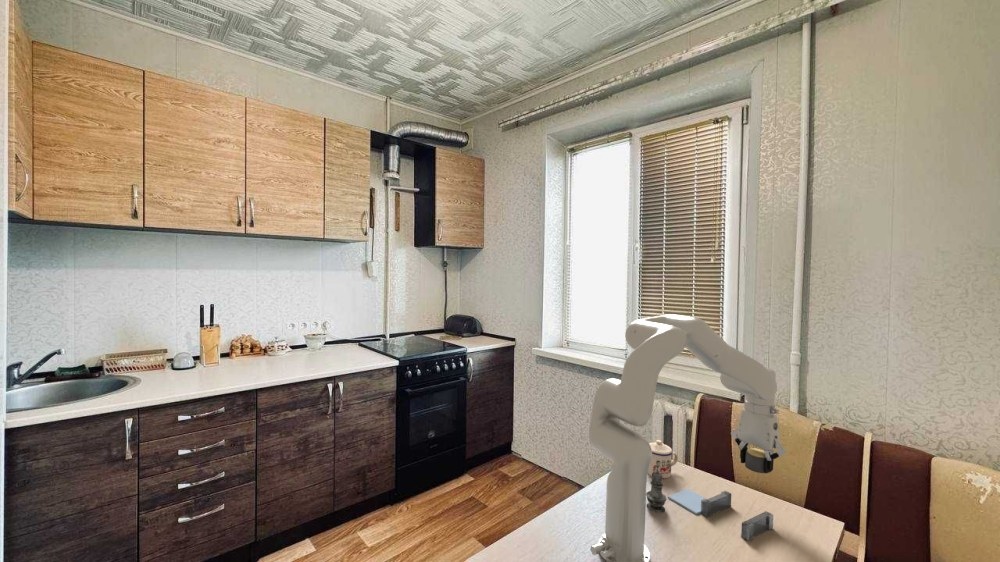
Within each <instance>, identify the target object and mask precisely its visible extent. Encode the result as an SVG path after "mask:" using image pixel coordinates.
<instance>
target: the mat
mask: <svg viewBox="0 0 1000 562" xmlns="http://www.w3.org/2000/svg"><path fill="white" fill-rule="evenodd" d="M667 499H669V500H671V501H673V502H674V503H676V504H677V505H679V506H681V507H682V508H684V509H686V510H687V511H689V512H690V513H692V514H694V515H695V516H698V515H700V514H701V500H703V499H707V498H706V497H705V496H704V495H701V494H699V493H697V492H695V491H694V490H691V489H690V488H686V489H683V490H681V491H677V492H674V493H673V494H670V495H667Z"/></svg>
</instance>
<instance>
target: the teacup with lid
mask: <svg viewBox="0 0 1000 562" xmlns="http://www.w3.org/2000/svg"><path fill="white" fill-rule="evenodd" d="M649 444H650V446H651V449H652V458H651V463H650V466H649V470H648V475H650V477H652V473H653V472H654V471H656V470H657V469H658V472H660V473H661V474H662V478H664V479H669V478H670V477H671V476H672V467H674V466H675V465H677V462H678V460H679V456H678V454H677V453H676V452H674V451H673V450H672V448H671V447H670V446H669V445H667V444H664V443H663V441H662V440H660V439H657V440H655V441H654V442H649ZM672 455H674V459H673V458H672ZM672 459H673V461H672Z"/></svg>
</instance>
